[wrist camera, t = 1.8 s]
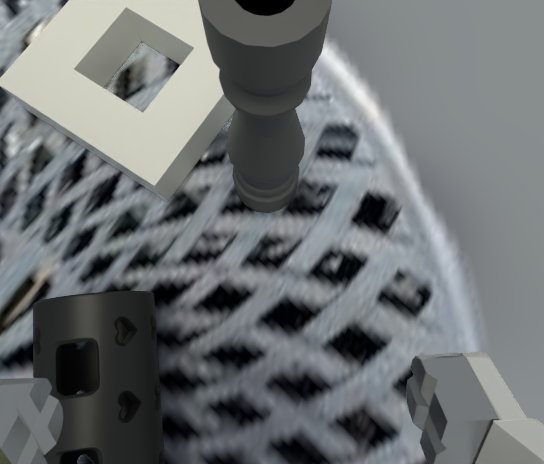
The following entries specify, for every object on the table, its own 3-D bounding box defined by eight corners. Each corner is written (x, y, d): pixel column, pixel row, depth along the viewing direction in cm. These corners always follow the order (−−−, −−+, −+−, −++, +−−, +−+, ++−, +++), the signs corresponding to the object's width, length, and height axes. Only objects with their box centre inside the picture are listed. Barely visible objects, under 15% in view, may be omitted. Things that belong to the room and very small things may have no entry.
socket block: (26, 109, 43) (-5, 82, 38) (132, -14, 46) (116, -54, 41) (167, 202, 41) (154, 186, 36) (267, 66, 44) (267, 34, 39)
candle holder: (271, 225, 41) (277, 81, 16) (222, 187, 41) (158, -4, 17) (309, 178, 42) (369, -23, 17) (261, 142, 42) (253, -99, 18)
